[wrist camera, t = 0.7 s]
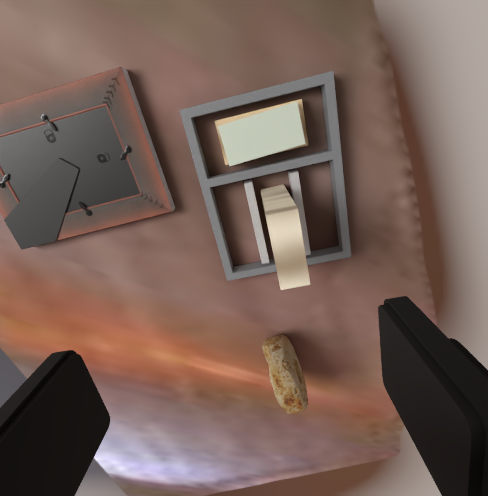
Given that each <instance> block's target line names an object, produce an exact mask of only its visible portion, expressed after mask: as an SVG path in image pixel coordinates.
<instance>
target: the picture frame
mask: <svg viewBox="0 0 488 496" xmlns="http://www.w3.org/2000/svg"><path fill="white" fill-rule="evenodd" d="M174 209H175V206H174V203H173V200H172V197H171V194H170V191H169V189H168V186H167V183H166V180H165V177H164V174H163V172H162V169H161V166H160V163H159V160H158V157H157V154H156V152H155V149H154V146H153V143H152V140H151V137H150V135H149V132H148V129H147V126H146V123H145V120H144V117H143V115H142V112H141V109H140V106H139V103H138V100H137V98H136V95H135V92H134V89H133V86H132V83H131V80H130V78H129V75H128V72H127V69H125V68H122V67H119V68H116V69H113V70H109V71H106V72H103V73H100V74H97V75H94V76H90V77H87V78H84V79H81V80H78V81H75V82H71V83H68V84H65V85H62V86H59V87H56V88H52V89H49V90H46V91H43V92H40V93H36V94H33V95H30V96H27V97H24V98H21V99H17V100H14V101H11V102H8V103H5V104H2V105H0V212H1V214H2V215H3V217H4V221H5V222H6V224H7V226H8V228H9V229H10V231H11V233H12V234H13V236H14V238H15V239H16V241H17V243H18V244H19V246H20V248H21V249H26V248H30V247H34V246H38V245H42V244H46V243H50V242H55V241H57V240H61V239H65V238H69V237H73V236H77V235H81V234H85V233H89V232H93V231H97V230H101V229H105V228H109V227H113V226H117V225H121V224H125V223H129V222H133V221H137V220H141V219H145V218H149V217H153V216H156V215H160V214H164V213H168V212H172V211H173V210H174Z"/></svg>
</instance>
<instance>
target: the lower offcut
mask: <svg viewBox="0 0 488 496" xmlns="http://www.w3.org/2000/svg"><path fill="white" fill-rule="evenodd" d="M296 101H297V103H298V108H299V113H300V118H301V123H302V128H303V133H304V138H305V143H306V144H303V145H300V146H297V147H293V148H290V149H287V150H291V149H295V148H299V147H304V146H308V139H307V132H306V125H305V118H304V111H303V104H302V99H299V100H295V101H292V102H288V103H284V104H280V105H276V106H272V107H268V108H264V109H260V110H256V111H252V112H248V113H245V114H241V115H237V116H233V117H229V118H225V119H221V120H217V121H215V124H216V128H217V132H218V136H219V140H220V144H221V148H222V152H223V156H224V160H225V165H228V164H229V163H228V160H227V156H226V153H225V150H224V146H223V143H222V140H221V136H220V133H219V129H218V126H220V125H223V124H226V123H230V122H233V121H236V120H239V119H242V118H246V117H249V116H252V115H255V114H258V113H261V112H265V111H268V110H271V109H274V108H277V107H280V106H284V105H287V104H290V103H293V102H296ZM287 150H283V151H287ZM283 151H280V152H283ZM276 153H278V152H276ZM273 154H274V153H273Z"/></svg>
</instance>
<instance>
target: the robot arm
mask: <svg viewBox="0 0 488 496" xmlns="http://www.w3.org/2000/svg"><path fill="white" fill-rule="evenodd" d="M378 314H379V330H380V346H381V361H382V377H383V382H384V386H385V388H386V391H387V393H388V395H389V396H390V398H391V400H392V402H393V404H394V406H395V408H396V410H397V412H398V413H399V415H400V417H401V419H402V421H403V423H404V425H405V427H406V429H407V430H408V432H409V434H410V436H411V438H412V440H413V442H414V443H415V445H416V447H417V449H418V451H419V453H420V455H421V457H422V459H423V461H424V463H425V464H426V466H427V468H428V470H429V472H430V474H431V475H432V478H433V479H434V481H435V483H436V485H437V487H438V489H439V491H440V493H441V495H442V496H488V370H487V369H486V368H485V367H484V366H483V365H482V364H481V363H480V362H479V361H478V360H477V359H476V358H475V357H474V356H473V355H472V354H471V353H470V352H469V351H468V350H467V349H466V348H465V347H464V346H463V345H462V344H461V343H459V342H458V341H457V340H455V339H452V338H450V339H448V338H447V337H446V336H445V335H444V334H443V333H442V332H441V331H440V330H439V329H438V327H437V326H436V325H435V324H434V323H433V322H432V321H431V320H430V319H429V318H428V317H427V316H426V315H425V314H424V313H423V312H422V311H421V310H420V309H419V308H418V307H417V306H416V305H415V304H414V303H413V302H412V301H411V300H410V299H409V298H408V297H407V296H403V297H397V298H391V299H385V300H384V305H380V306H379V307H378ZM109 424H110V416H109V413H108V411H107V409H106V407H105V405H104V403H103V400H102V398H101V396H100V394H99V392H98V390H97V388H96V386H95V384H94V382H93V380H92V378H91V376H90V374H89V372H88V369H87V367H86V365H85V363H84V361H83V359H82V357H81V356H80V355H79V354H77V353H76V352H75V351H73V350H68V351H62V352H56V353H52V354H51V355H50V356H49V357H48V358H47V359H46V360H45V361H44V362H43V363H42V364H41V365H40V366H39V367H38V368H37V369H36V370H35V372H34V373H33V374H32V375H31V376H30V377H29V378H28V379H27V380H26V381H25V382H24V383H23V384H22V385H21V386H20V388H19V389H18V390H17V391H16V392H15V393H14V394H13V395H12V396H11V397H10V398H9V399H8V400H7V401H6V402H5V403H4V405H3V406H2V407H1V408H0V496H74V495H75V494H76V492H77V490H78V487H79V486H80V483H81V482H82V480H83V477H84V476H85V473H86V472H87V470H88V468H89V465H90V464H91V462H92V460H93V458H94V456H95V454H96V452H97V450H98V448H99V446H100V444H101V442H102V440H103V438H104V436H105V434H106V432H107V430H108V427H109Z"/></svg>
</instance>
